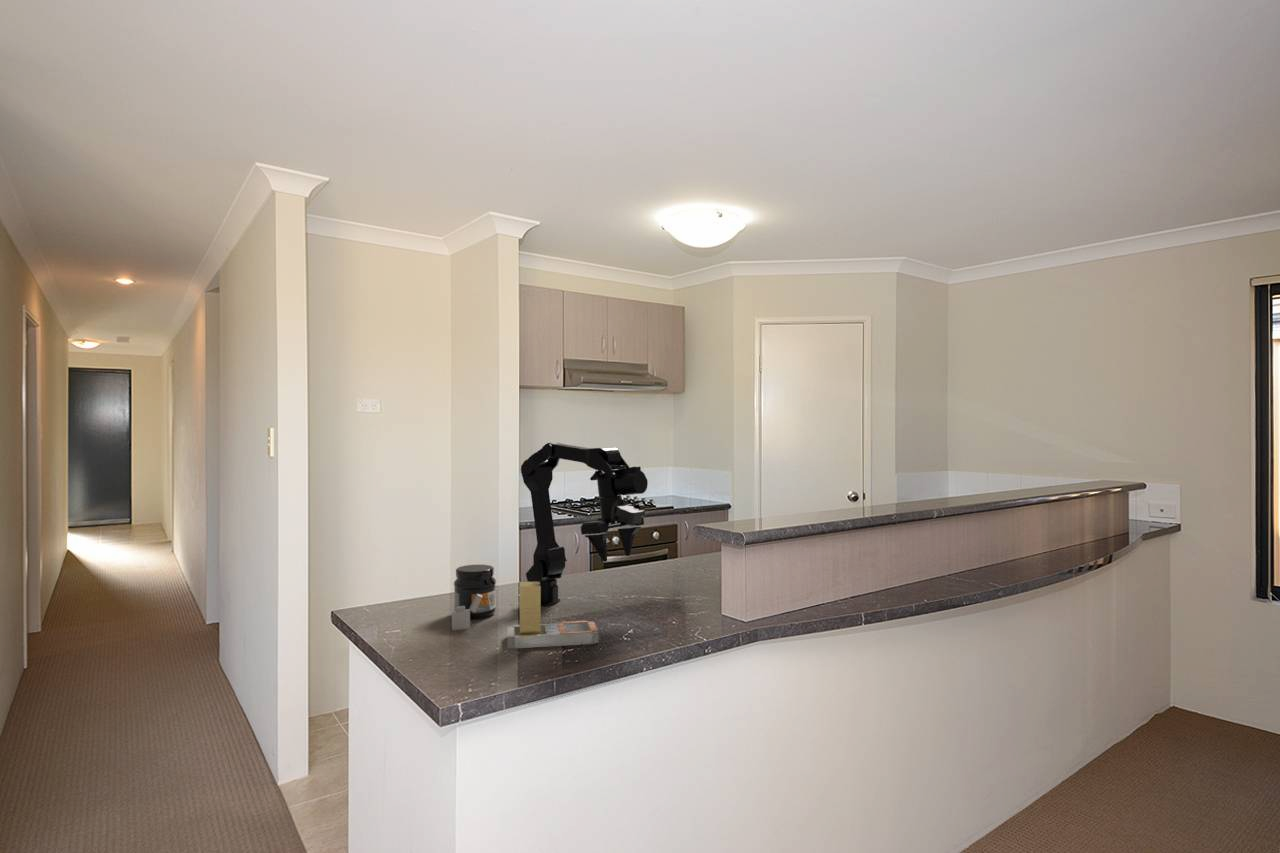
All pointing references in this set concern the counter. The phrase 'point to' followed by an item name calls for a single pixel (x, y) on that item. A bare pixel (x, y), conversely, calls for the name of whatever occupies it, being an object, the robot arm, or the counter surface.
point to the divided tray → (554, 635)
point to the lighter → (464, 614)
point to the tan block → (530, 608)
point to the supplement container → (475, 589)
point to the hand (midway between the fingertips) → (616, 558)
